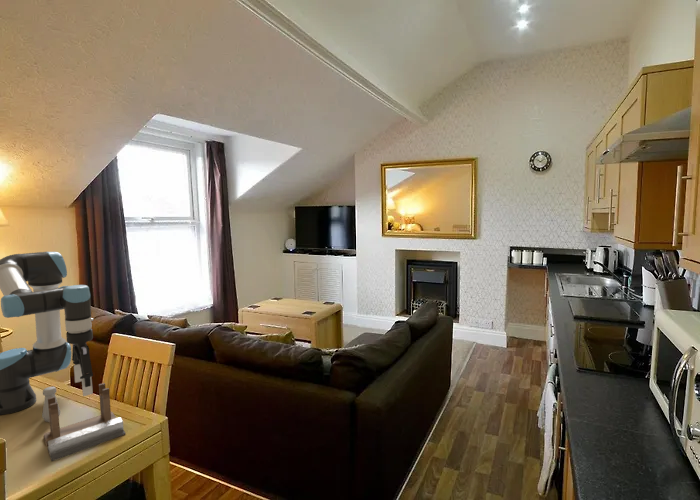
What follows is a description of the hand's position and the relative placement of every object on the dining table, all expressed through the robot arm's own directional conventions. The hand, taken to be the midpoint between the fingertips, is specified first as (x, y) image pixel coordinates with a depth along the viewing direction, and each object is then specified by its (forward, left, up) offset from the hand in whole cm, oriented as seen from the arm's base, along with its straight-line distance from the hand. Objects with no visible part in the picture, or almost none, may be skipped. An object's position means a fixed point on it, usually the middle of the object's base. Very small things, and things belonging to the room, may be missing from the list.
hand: (83, 387), depth 138 cm
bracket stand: (-10, 0, -20) cm, 22 cm away
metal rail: (0, 0, -20) cm, 20 cm away
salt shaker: (-27, -7, -20) cm, 34 cm away
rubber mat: (0, 0, -20) cm, 20 cm away
